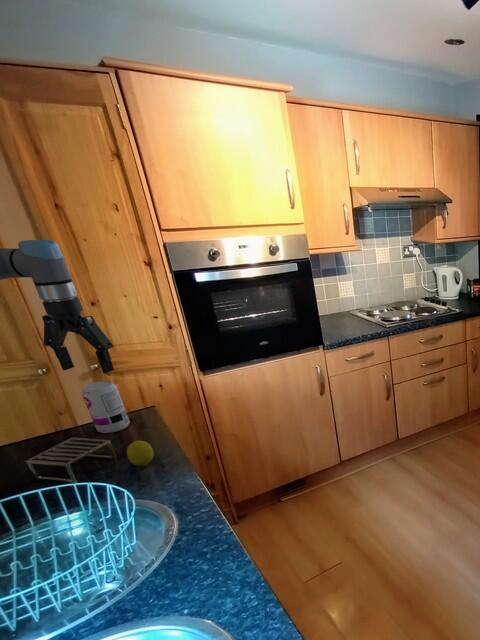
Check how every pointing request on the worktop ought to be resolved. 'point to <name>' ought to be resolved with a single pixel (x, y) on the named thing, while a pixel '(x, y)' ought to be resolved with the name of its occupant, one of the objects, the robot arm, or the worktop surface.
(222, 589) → the worktop surface
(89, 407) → the supplement can
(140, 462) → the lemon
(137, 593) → the worktop surface
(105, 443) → the wire rack
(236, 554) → the worktop surface
